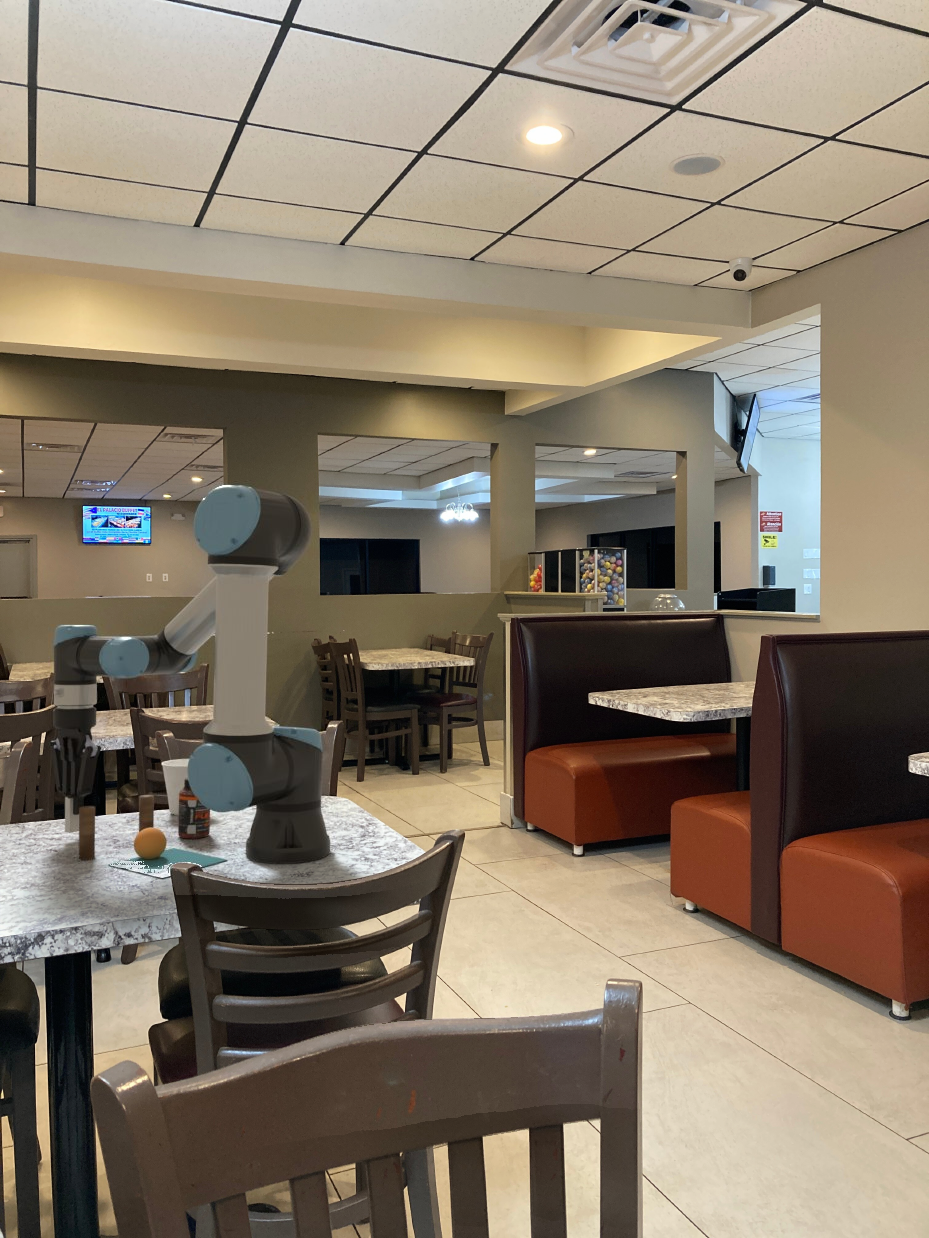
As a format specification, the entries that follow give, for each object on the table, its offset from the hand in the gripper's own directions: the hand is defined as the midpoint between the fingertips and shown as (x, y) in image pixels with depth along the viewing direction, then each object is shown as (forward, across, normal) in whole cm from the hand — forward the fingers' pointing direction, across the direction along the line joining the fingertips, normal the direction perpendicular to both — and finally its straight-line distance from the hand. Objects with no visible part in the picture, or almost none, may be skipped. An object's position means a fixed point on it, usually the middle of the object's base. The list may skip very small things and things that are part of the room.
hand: (73, 830), depth 177 cm
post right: (+2, +13, +6) cm, 15 cm away
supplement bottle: (+2, +15, +16) cm, 22 cm away
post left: (+2, +13, -6) cm, 15 cm away
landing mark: (+2, +27, 0) cm, 27 cm away
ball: (-1, +22, 0) cm, 22 cm away
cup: (+2, -3, +29) cm, 29 cm away
